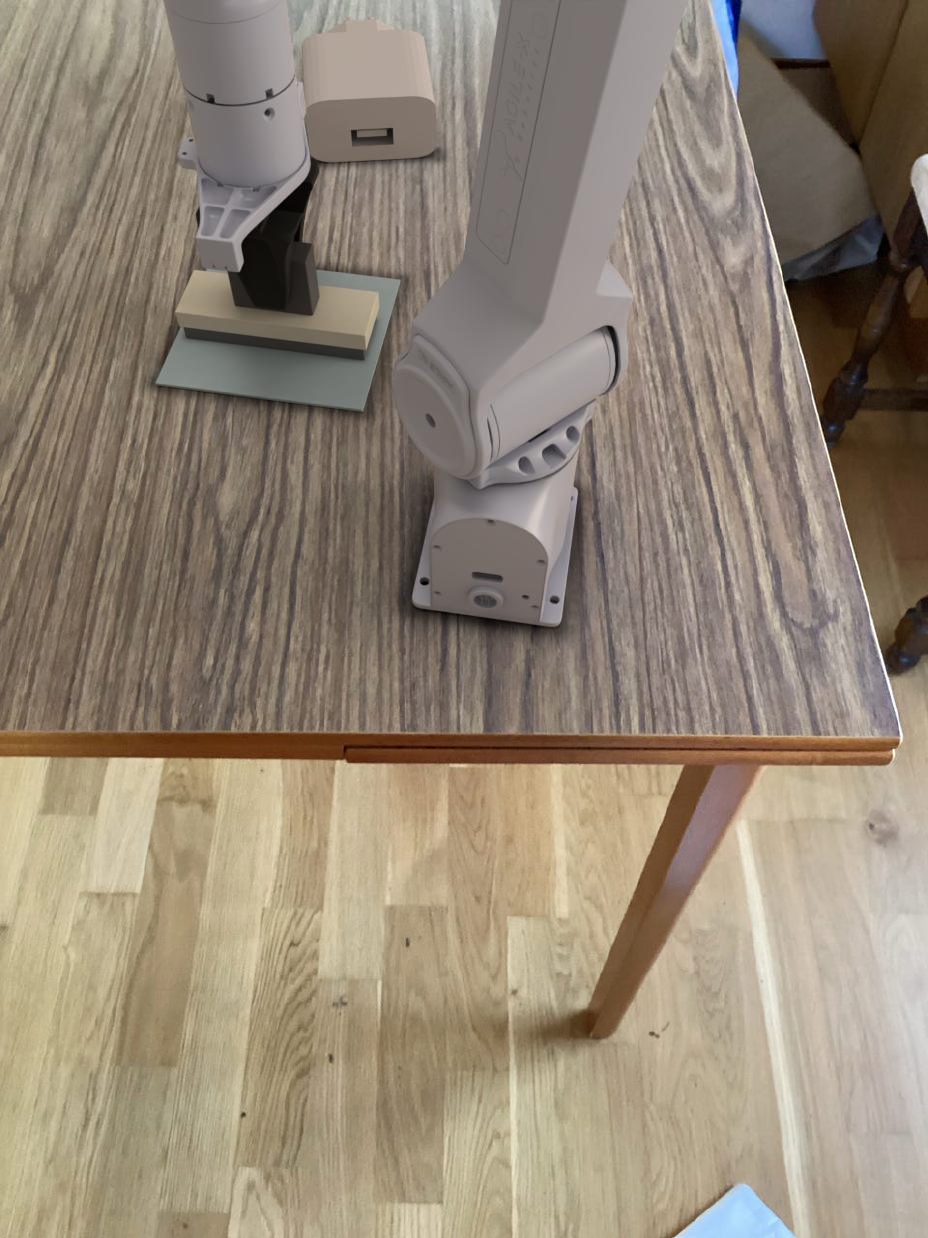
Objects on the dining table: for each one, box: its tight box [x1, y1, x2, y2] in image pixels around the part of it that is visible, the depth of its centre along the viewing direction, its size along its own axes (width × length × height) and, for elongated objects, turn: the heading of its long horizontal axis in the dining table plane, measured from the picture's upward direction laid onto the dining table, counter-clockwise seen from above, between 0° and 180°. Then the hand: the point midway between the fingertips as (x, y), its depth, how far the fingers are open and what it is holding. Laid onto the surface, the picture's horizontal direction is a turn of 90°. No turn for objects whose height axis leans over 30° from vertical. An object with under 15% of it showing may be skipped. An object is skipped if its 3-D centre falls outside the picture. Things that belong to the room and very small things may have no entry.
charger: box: [301, 15, 437, 163], centre depth 77 cm, size 5×9×15 cm
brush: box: [174, 241, 379, 360], centre depth 63 cm, size 4×12×6 cm, turn 81°
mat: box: [155, 268, 401, 413], centre depth 66 cm, size 12×13×1 cm
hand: (276, 291), depth 63 cm, fingers closed on brush, 2 cm apart
